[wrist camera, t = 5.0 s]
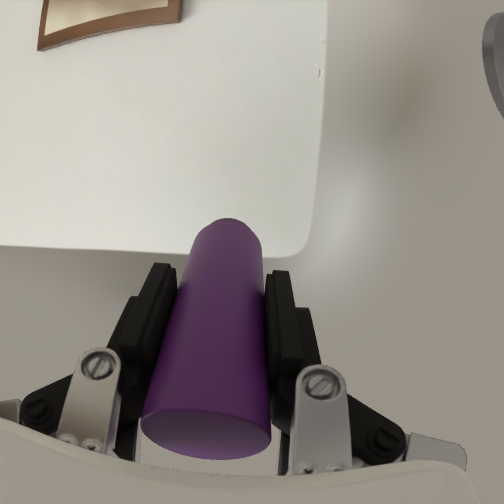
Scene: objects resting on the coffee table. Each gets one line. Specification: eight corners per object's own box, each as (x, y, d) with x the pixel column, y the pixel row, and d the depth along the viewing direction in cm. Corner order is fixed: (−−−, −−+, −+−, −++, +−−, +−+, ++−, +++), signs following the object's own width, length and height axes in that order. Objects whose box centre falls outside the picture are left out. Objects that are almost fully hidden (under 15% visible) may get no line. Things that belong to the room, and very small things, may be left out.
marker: (234, 198, 14) (208, 395, 5) (273, 248, 15) (296, 445, 6) (183, 235, 14) (115, 422, 6) (223, 279, 16) (202, 465, 7)
